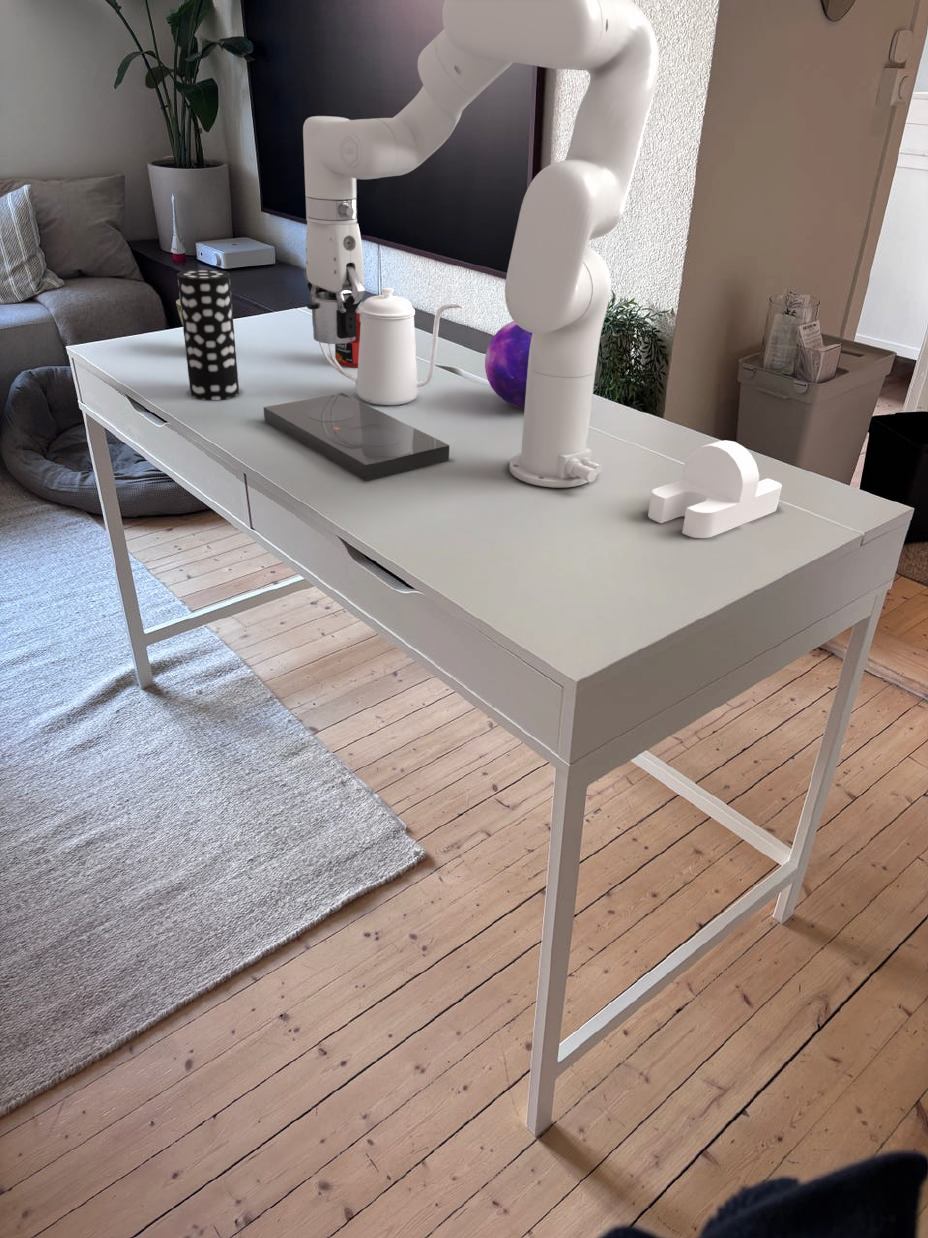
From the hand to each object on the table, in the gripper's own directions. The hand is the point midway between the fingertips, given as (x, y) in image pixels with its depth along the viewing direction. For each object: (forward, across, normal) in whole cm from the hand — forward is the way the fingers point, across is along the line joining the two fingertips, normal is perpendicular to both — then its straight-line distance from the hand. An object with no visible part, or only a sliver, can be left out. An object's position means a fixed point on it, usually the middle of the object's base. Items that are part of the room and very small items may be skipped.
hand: (334, 330), depth 148 cm
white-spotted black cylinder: (+15, +23, +11) cm, 29 cm away
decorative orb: (+14, -11, -32) cm, 37 cm away
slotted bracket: (+14, -60, -23) cm, 66 cm away
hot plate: (+14, -10, +3) cm, 18 cm away
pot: (+1, 0, 0) cm, 1 cm away
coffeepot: (+15, +5, -14) cm, 21 cm away
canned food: (+15, +27, -21) cm, 37 cm away
